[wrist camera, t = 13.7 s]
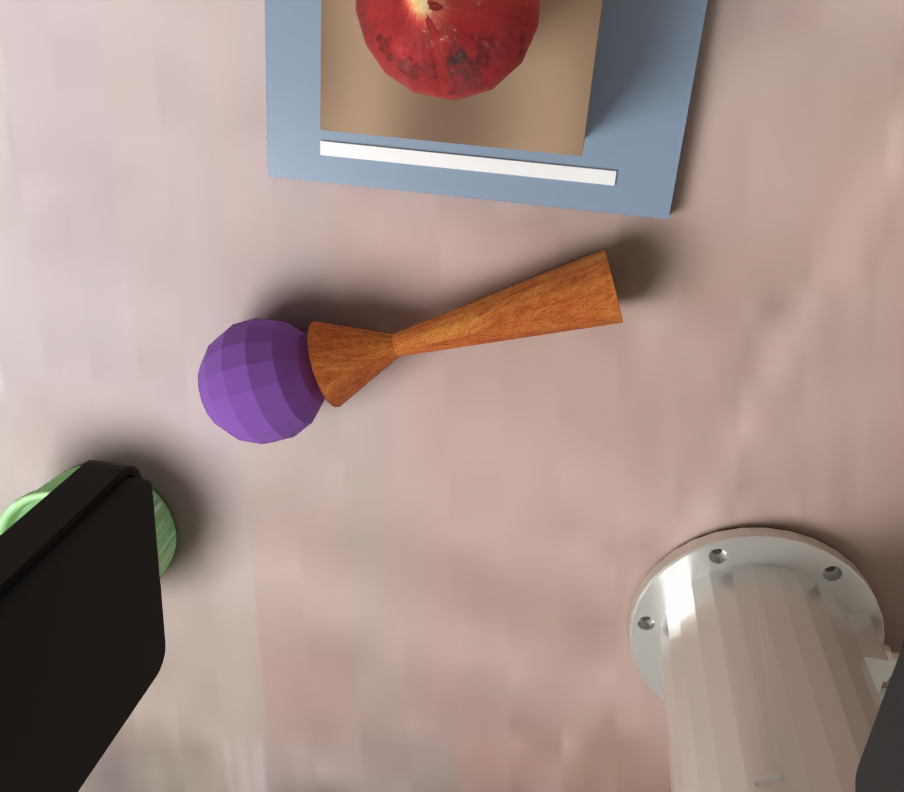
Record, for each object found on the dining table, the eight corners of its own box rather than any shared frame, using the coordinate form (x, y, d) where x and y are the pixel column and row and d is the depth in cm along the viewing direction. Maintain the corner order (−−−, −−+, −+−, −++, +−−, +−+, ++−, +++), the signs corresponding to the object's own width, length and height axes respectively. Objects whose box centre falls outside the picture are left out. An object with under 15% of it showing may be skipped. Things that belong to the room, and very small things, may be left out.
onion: (566, 62, 31) (553, 77, 23) (415, 109, 32) (359, 138, 25) (523, -119, 29) (494, -162, 21) (364, -59, 30) (287, -80, 23)
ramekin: (26, 448, 49) (-25, 486, 45) (175, 458, 48) (136, 498, 44) (58, 579, 53) (13, 625, 49) (197, 591, 51) (163, 640, 47)
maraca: (637, 376, 37) (219, 480, 41) (618, 312, 42) (248, 410, 46) (607, 253, 34) (159, 378, 38) (591, 199, 39) (196, 315, 43)
